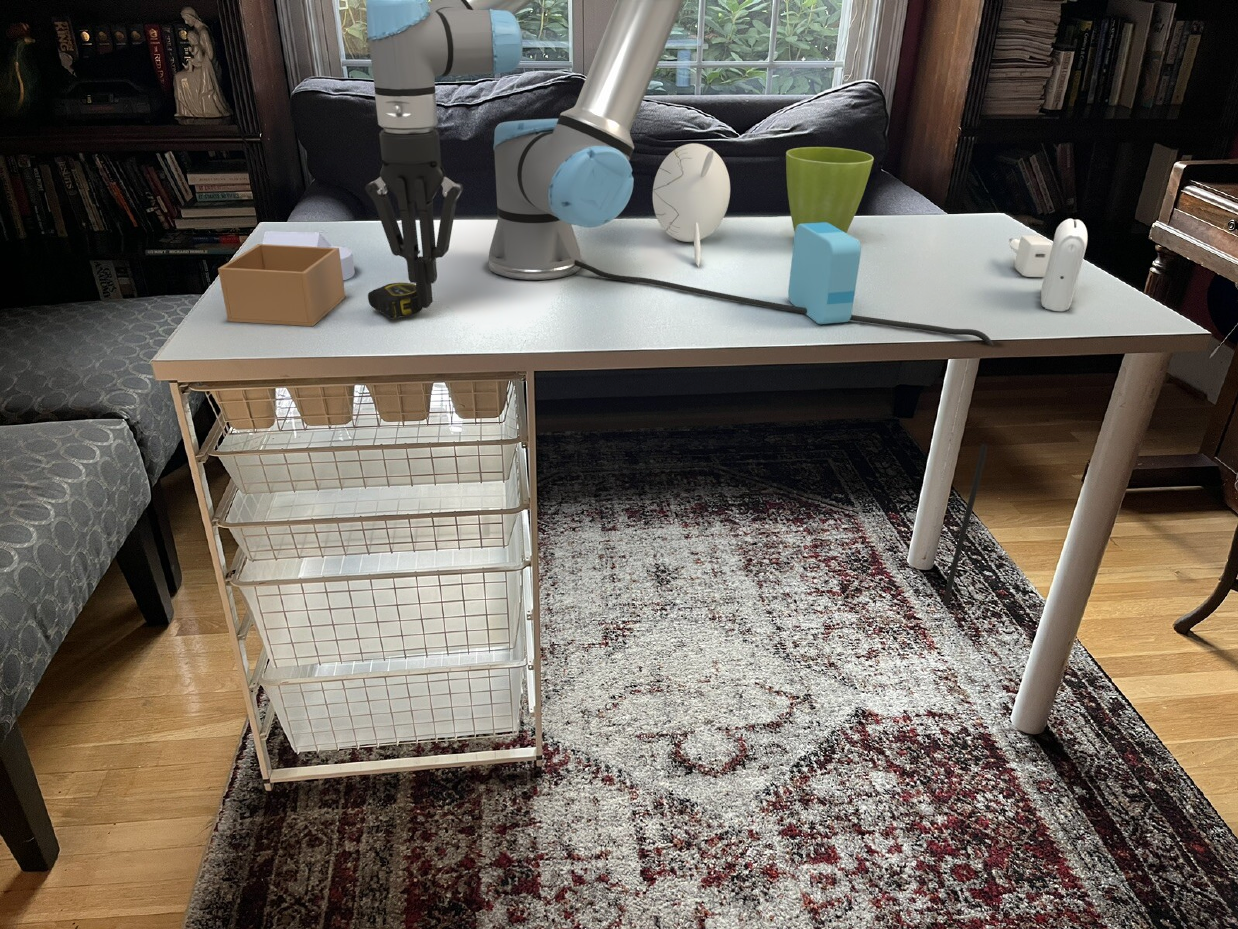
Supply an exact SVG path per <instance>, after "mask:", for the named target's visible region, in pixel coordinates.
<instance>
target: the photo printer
mask: <svg viewBox="0 0 1238 929" xmlns="http://www.w3.org/2000/svg"><path fill="white" fill-rule="evenodd" d="M1087 246H1088V229H1087V227H1086V225H1085V224H1084V222H1083V221H1082V220H1080V219H1073V218H1067V219H1065V220H1063V221H1062V222H1060V224H1058V226H1057V227H1056V230H1055V233H1054V236H1053V241H1052V249H1051V253H1050V257H1049V261H1048V265H1047V269H1046V273H1045V276H1044V277H1043V280H1042V284H1041V292H1040V300H1041V306H1042V307H1043V308H1044V309H1046V310H1048V311H1053V312H1065V311H1068V310H1069V309H1070V307H1071V305H1072V302H1073V298H1074V294H1075V291H1076V287H1077V283H1078V280H1079V277H1080V272H1081V269H1082V265H1083V261H1084V258H1085V253H1086V249H1087Z"/></svg>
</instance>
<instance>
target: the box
mask: <svg viewBox="0 0 1238 929" xmlns="http://www.w3.org/2000/svg"><path fill="white" fill-rule="evenodd" d="M217 271H218V276H219V282H220V286H221V292H222V296H223V302H224V306H225V312H226V317H227V322H235V323H247V324H248V323H251V324H267V325H269V324H270V325H286V326H300V327H301V326H302V327H314V326H315V325H316V324H318V322H320V321H321V320H322V319H323V318H324V317H325V316H326V315H328V314H329V313H330V312H331V311H332V310H334V308H336V307H337V306H338V305H339V304H340V303H341V302H342V301H344V300H345V299H346V293H345V292H346V290H345V284H344V280H343V275H342V268H341V260H340V252H339V248H327V247H308V246H288V245H268V244H262V243H258V244H256V245H254V246H253V247H251V248H249V249H247V250H246V251H244V252H243V253H241V254H240V255H237V256H235V258H233V259H231V260H230V261H228V262H227V263H225V264H223V265H221V266H220V267H218V268H217Z"/></svg>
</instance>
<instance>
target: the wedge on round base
mask: <svg viewBox="0 0 1238 929" xmlns="http://www.w3.org/2000/svg"><path fill="white" fill-rule="evenodd" d="M261 244H268V245H288V246H308V247H327V248H339V252H340V260H341V268H342V275H343V281H346V280H349V279H351V278H353V277H354V276H355V274H356V272H355V265H354V264H355V263H354V255H353V251H352V250H351V249H350V248H348V247H344V246H336V245H331V244H330V243H329V242H328V241H327V239H326V238H325V237H324V236H323V235H322V233H320V232H311V231H309V232H308V231H272V230H271V231H269V230H268V231H264V235H263V239H262V243H261Z"/></svg>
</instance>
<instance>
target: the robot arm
mask: <svg viewBox="0 0 1238 929" xmlns="http://www.w3.org/2000/svg"><path fill="white" fill-rule="evenodd" d="M534 1H535V0H431V1H428V0H366V6H365V10H366V13H365V14H366V31H367V32H366V33H367V34H366V38H367V40H368V48H369V55H370V56H369V57H370V63H371V70H372V79H373V87H374V88H373V89H374V99H375V107H376V108H375V109H376V116H377V125H378V126H380V127H381V128H383V129H381V130H380V132H379V133H378V138H379V143H380V144H379V145H380V154H381V160H382V166H381V169H380V172H379V177H378V178H377V179H375V180H373V181H371V182H369V183H367V184H366V185H365V186H364V191H365V192H366V194H367V195H368V196H369V197H370V199H371V200H372V201H373V203H374V206H375V209H376V211H377V215H378V217H379V221H380V223H381V225H382V228H383V231H384V234H385V237H386V239H387V241H388V242H387V243H388V245H389V248H390V251H391V254H392V255H393V256H394V257H395V256H396V257H402V258H403V259H405V261H406V267H407V268H406V269H407V275H408V277H407V278H408V281H409V283H411V284H415V285H416V290H417V300H418V308H422V309H428V308H429V307H430V306H431V305H432V304H433V303H434V297H433V288H432V284H435V282H436V281H437V279H438V268H437V259H438V258H443V257H444V256H445V255H446V254H447V253H448V251H449V248H450V243H451V237H452V231H453V225H454V219H455V214H456V213H455V212H456V207H457V202H458V200H459V198H460V196H461V194H462V193H463V191H464V185H463V184H462V183H459V182H458V183H455V182H454V181H452V180H451V179H450V178H448V177H447V174H446V170H445V169H444V167H443V165H442V157H441V145H440V134H439V133H440V132H439V131H438V130H437V129H436V128H435V127H436V126H437V125H438V123H439V119H438V109H437V96H436V83H435V81H436V80H435V78H436V77H438V78H439V77H440V78H441V77H447V76H448V77H449V76H475V75H492V76H496V75H497V74H503V73H511V72H513V71H515V70H516V69H517V68H518V66H519V65H520V63H521V60H522V56H523V47H524V46H523V44H524V43H523V35H522V29H521V26H520V23H519V21H518V18H516V16H515V15H516V14H518V13H519V12H520V11H522V10H524V9H525V8H526V7H527V6H529V5H530V4H531V3H533V2H534ZM684 2H685V0H616V2H615V5H614V8H613V10H612V12H611V16H610V18H609V20H608V23H607V25H606V28H605V30H604V33H603V35H602V38H601V40H600V43H599V45H598V48H597V51H596V52H595V55H594V58H593V60H592V62H591V65H590V67H589V70H588V73H587V74H586V78H585V80H584V83H583V86H582V88H581V90H580V92H579V96H578V98H577V100H576V103H575V105H574V106H573V107H571V108H569V109H567V110H565V111H562V112H561V113H560V114H559V117H558V118H540V119H539V118H537V119H522V120H511V121H503V122H500V123H498V124H497V126H496V127H495V129H494V137H493V141H494V142H493V145H492V146H493V148H492V149H493V152H494V153H493V154H494V171H495V190H496V191H495V192H496V207H497V208H496V209H497V221H496V226H495V229H494V232H493V237H492V240H491V244H490V248H489V251H488V256H487V257H488V258H487V259H488V269H489V270H490V271H491V272H493V273H494V274H496V275H497V276H498V275H499V276H501V277H505V278H509V279H516V280H526V281H541V280H553V279H560V278H564V277H567V276H571V275H574V274H575V273H577V272H578V271H580V270H581V268H582V269H583V270H586V271H588V272H591V273H592V274H594V275H597V276H599V277H602V278H606V279H609V280H614V281H620V282H630V283H641V284H648V285H654V286H659V287H663V288H668V289H674V290H676V291H677V290H678V291H683V292H687V293H692V294H696V295H701V296H708V297H711V298H717V299H722V300H726V301H730V302H731V301H732V302H737V303H744V304H747V305H752V306H759V307H763V308H764V307H765V308H771V309H776V310H781V311H788V312H794V313H800V314H804V315H806V313H807V309H806V308H803V307H797V306H795V305H791V304H790V305H789V304H784V303H778V302H773V301H772V302H771V301H766V300H762V299H755V298H750V297H745V296H739V295H734V294H728V293H723V292H718V291H712V290H708V289H704V288H699V287H693V286H688V285H684V284H678V283H674V282H670V281H664V280H659V279H654V278H648V277H641V276H631V275H630V276H629V275H622V274H621V275H620V274H614V273H610V272H606V271H602V270H601V269H598V268H596V267H595V266H592V265H589V264H587V263H584V262H582V254H581V250H580V246H579V244H578V241H577V237H576V235H575V231H574V228H573V226H578V227H581V228H598V227H602V226H603V225H605V224H607V223H608V224H609V223H610V222H612V221H613V220H614V219H616V218H617V217H618V216H619V215H620V214H621V213H622V212H623V211H624V209H625V208H626V207H627V205H628V203H629V201H630V199H631V196H632V193H633V189H634V179H635V178H634V176H633V174H632V172H633V168H632V165H631V163H630V160H631V158H632V155H633V152H634V149H635V145H634V142H633V139H632V137H631V130H632V127H633V125H634V123H635V120H636V118H637V116H638V114H639V111H640V108H641V105H642V103H643V101H644V98H645V96H646V93H647V92H648V89H649V86H650V85H651V84H650V83H651V81H652V79H653V76H654V74H655V72H656V70H657V67H658V64H659V62H660V60H661V58H662V55H663V52H664V50H665V48H666V45H667V43H668V40H669V38H670V35H671V33H672V31H673V28H674V26H675V23H676V21H677V19H678V16H679V14H680V12H681V9H682V6H683V4H684ZM441 187H442V191H441V192H442V196H443V197H444V200H443V202H442V207H441V213H440V219H439V220H440V221H439V227H438V232H437V239H436V232H435V222H434V221H435V220H434V209H433V208H434V198H435V196H436V195H437V193H438V192H439V190H440V188H441ZM388 190H390V192H391V193H392V194H393V196H394V197H395V198H396V199H397V207H398V211H399V213H400V214H399V215H400V222H401V223H400V224H401V228H400V226H399V223H398V220H397V217H396V213H395V211H394V209H393V208H394V207H393V206H392V203H391V200H390V198H389V195H388ZM415 206H416V210H417V212H418V218H419V219H418V220H419V231H420V242H421V250H420V249H419V239H418V230H417V221H416V211H415ZM401 231H402V232H401ZM421 252H422V254H421ZM420 254H421V255H422V256H420ZM849 321H852V322H859V323H866V324H867V323H868V324H875V325H880V326H881V325H882V326H889V327H896V328H903V329H911V330H918V331H919V330H920V331H926V332H935V333H940V334H946V335H953V336H954V335H955V336H956V335H957V336H973V337H976V338H979V339H980V340H982V341H983V342H984V344H985V345H987V346H994V342H993V341H992V339H991V338H990V337H989V336H988V335H987V334H986V333H984V332H983V331H980V330H977V329H974V328H973V329H972V328H952V327H945V326H940V325H939V326H937V325H931V324H924V323H917V322H916V323H915V322H907V321H900V320H892V319H885V318H879V317H878V318H877V317H870V316H863V315H855V314H852V315H851V318H850V320H849ZM980 445H981V446H980V451H979V456H978V460H977V465H976V469H975V474H974V477H973V481H972V486H971V491H970V493H969V498H968V501H967V506H966V509H965V513H964V516H963V520H962V523H961V528H960V531H959V535H958V540H957V544H956V547H955V551H954V554H953V559H952V562H951V567H950V571H949V574H948V580H947V584H946V589H945V592H944V597H943V601H942V605H943V606H944V607H948V606H949V604H950V600H951V596H952V591H953V586H954V582H955V578H956V574H957V568H958V566H959V561H960V557H961V553H962V550H963V547H964V542H965V538H966V534H967V531H968V528H969V523H970V520H971V516H972V512H973V508H974V504H975V501H976V498H977V493H978V489H979V486H980V482H981V477H982V473H983V470H984V465H985V460H986V455H987V451H988V446H989V445H988V444H985V443H981V444H980Z"/></svg>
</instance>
